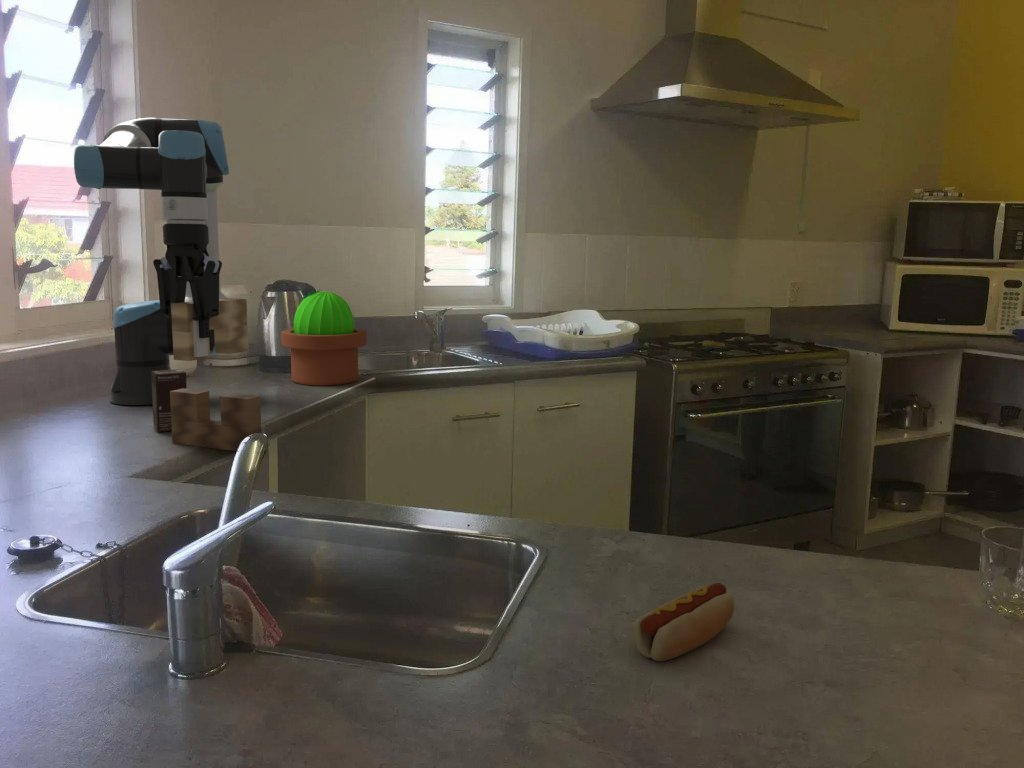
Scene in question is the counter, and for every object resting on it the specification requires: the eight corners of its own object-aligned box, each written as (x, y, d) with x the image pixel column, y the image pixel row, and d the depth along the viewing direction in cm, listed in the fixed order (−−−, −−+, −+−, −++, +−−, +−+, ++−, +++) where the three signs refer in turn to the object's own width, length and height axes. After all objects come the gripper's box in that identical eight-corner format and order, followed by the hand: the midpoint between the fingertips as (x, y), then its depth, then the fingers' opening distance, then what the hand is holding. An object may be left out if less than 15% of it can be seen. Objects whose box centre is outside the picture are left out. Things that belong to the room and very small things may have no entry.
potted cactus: (382, 381, 241) (381, 289, 237) (316, 390, 225) (314, 292, 221) (333, 371, 255) (331, 285, 251) (267, 380, 239) (264, 288, 235)
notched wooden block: (172, 442, 168) (169, 391, 166) (185, 439, 171) (183, 388, 169) (249, 452, 161) (247, 399, 159) (261, 448, 164) (260, 396, 163)
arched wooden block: (189, 361, 155) (186, 304, 153) (173, 359, 156) (170, 303, 154) (248, 350, 169) (246, 298, 168) (233, 349, 171) (231, 298, 169)
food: (667, 676, 82) (670, 626, 81) (620, 656, 86) (622, 608, 85) (743, 630, 92) (746, 585, 91) (698, 614, 96) (700, 570, 95)
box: (158, 433, 175) (155, 373, 173) (153, 429, 179) (150, 370, 177) (189, 430, 179) (186, 371, 177) (184, 425, 182) (181, 368, 180)
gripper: (132, 221, 153) (139, 355, 157) (208, 222, 147) (214, 361, 151) (164, 222, 160) (170, 350, 164) (238, 223, 154) (243, 356, 158)
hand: (191, 355), depth 158 cm, fingers closed on arched wooden block, 3 cm apart
